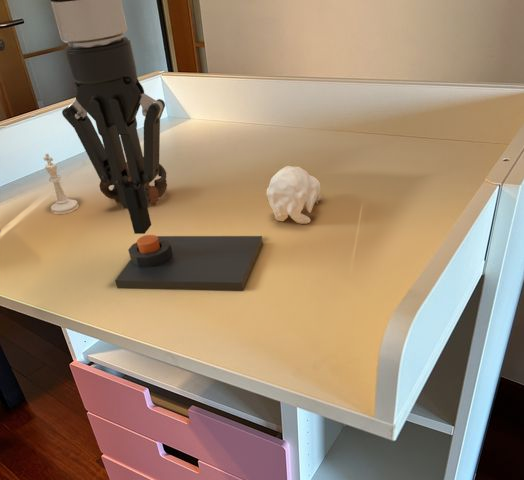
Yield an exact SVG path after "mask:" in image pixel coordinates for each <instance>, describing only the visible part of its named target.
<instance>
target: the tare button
mask: <svg viewBox="0 0 524 480" xmlns="http://www.w3.org/2000/svg"><path fill="white" fill-rule="evenodd" d="M157 236H158V235H156V234H146V235H143V236H141V237H139V238H138V239H137V240H136V242H137V244H138V248H139V252H140V253H151V252H155V251H157V250H159V249H160V244H159V240H158V237H157Z"/></svg>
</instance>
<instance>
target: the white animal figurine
mask: <svg viewBox="0 0 524 480" xmlns="http://www.w3.org/2000/svg"><path fill="white" fill-rule="evenodd" d="M320 193H321V183H320V181H319V180H318V179H317V178H316V177H315V176H313V175H311V174H310V175H309V173H308V172H307V171H306V170H305V169H302V167H301V166H290V165H286V166H284V167H282V168H281V169H280V170H278V171H277V172H276V173H275V174H274V175H273V176H272V177H271V179H270V181H269V185H268V187H267V189H266V197H267V199H268V204H269V206H270V208H271V210H272V212H273V215H274V219H275V220H276V221H278V222H284V221H286V220H287V219H288V218H289V217H290V218H291V219H292V220H293V221H294V222H296V223H297V224H300V225H302V224H303V225H307V224H309V223H311V218H310V217H309V216H308V215H306V214H303V213H302V211H303V210H304V207H305V206H306V211H307V212H308V213H310V214H311V213H312V211H313V208H314V206H315V204H318V205H319V203H318V201H321V198H322V197H323V195H322V194H320Z"/></svg>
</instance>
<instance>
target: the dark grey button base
mask: <svg viewBox="0 0 524 480" xmlns="http://www.w3.org/2000/svg"><path fill="white" fill-rule="evenodd" d="M156 236H157V237H158V240H159V244H160V249H159V250H157V251H155V252H151V253H140V252H139V248H138V244H137V241H136V242H134V243H132V245H131V246H130V247H129V248H128V249H127V250H128V254H129V258H130V260H129V261H128V263H127V264H126V265H125V266H124V268H123V269H122V270H121V271H120V272H119V274H118V275H117V277H116V278H115V279H114V282H115V284H116V288H117V289H126V290H127V289H129V290H130V289H131V290H171V291H173V290H174V291H216V292H217V291H220V292H221V291H222V292H243V291H244V290H245V287H246V285H247V283H248V280H249V278H250V275H251V273H252V271H253V268H254V266H255V264H256V261H257V259H258V257H259V254H260V252H261V249H262V248H263V245H264V241H263V236H262V235H156Z"/></svg>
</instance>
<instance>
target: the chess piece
mask: <svg viewBox="0 0 524 480" xmlns="http://www.w3.org/2000/svg"><path fill="white" fill-rule="evenodd" d="M44 156H45V157H43V160H44V161H46V163H47V164H45V166H44V169H45V170H46V171H47V173H48V174H49V176H50V177H49V178H48V182H49V183H53V186H54V190H55V195H56V201H55V203H53V204H51V207H50V210H51V213H52V214H54V215H66V214H69V213H72V212H75V210H77V209H78V208H79V206H80V205H79V204H78V201H77V200H75V199H71V198H69V197H67V196H66V194H65V191H64V189H63V187H62V185H61V183H60V181H61V180H62V177H61V176H60V175H58V169H57V168H58V167H57V166H58V165H57V163H55V162H53V161H54V159H53V157H51V156H50V154H49V153H45V154H44Z"/></svg>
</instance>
